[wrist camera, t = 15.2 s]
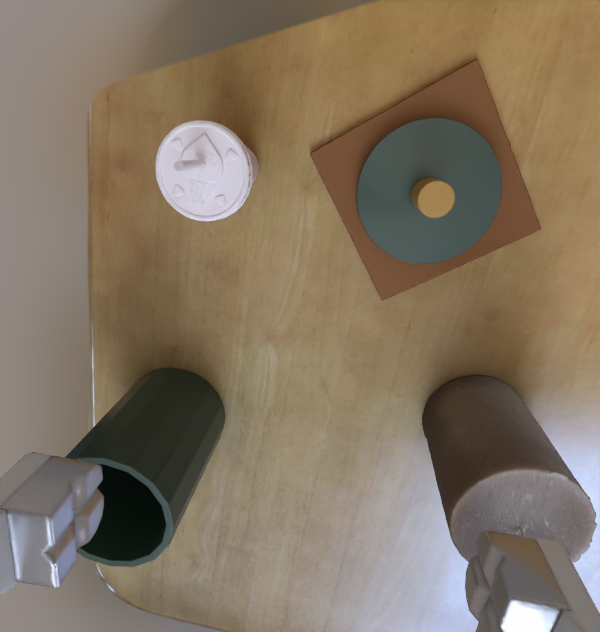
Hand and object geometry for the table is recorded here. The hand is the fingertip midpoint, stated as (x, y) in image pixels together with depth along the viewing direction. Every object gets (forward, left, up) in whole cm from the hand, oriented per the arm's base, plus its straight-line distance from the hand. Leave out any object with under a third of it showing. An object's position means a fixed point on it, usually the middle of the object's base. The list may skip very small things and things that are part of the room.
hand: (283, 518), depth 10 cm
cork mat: (+3, +8, -32) cm, 33 cm away
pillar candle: (+21, -5, -32) cm, 39 cm away
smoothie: (-11, 0, -32) cm, 34 cm away
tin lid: (+3, +8, -31) cm, 32 cm away
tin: (-2, -24, -32) cm, 40 cm away
